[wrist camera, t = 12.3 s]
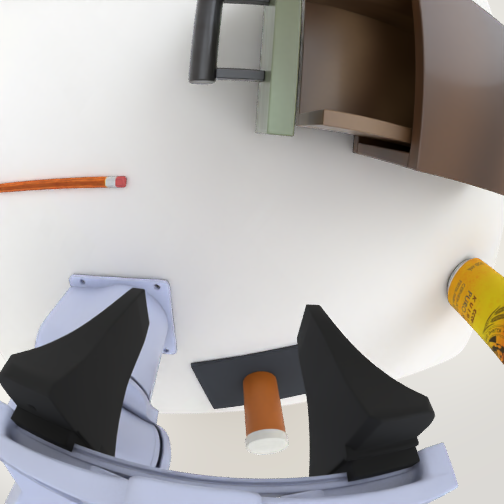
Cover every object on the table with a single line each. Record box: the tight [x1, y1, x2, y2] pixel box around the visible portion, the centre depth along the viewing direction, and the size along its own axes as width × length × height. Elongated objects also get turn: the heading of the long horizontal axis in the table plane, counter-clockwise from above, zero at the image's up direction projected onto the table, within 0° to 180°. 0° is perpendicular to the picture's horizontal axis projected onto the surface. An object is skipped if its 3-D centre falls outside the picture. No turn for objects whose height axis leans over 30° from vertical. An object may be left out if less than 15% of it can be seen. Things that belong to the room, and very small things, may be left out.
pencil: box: [0, 176, 126, 193], centre depth 17 cm, size 1×18×1 cm, turn 85°
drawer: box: [189, 0, 416, 147], centre depth 12 cm, size 16×11×6 cm
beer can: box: [447, 258, 504, 364], centre depth 18 cm, size 6×6×15 cm
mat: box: [191, 345, 306, 409], centre depth 27 cm, size 12×8×1 cm, turn 101°
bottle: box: [243, 371, 289, 455], centre depth 24 cm, size 4×4×8 cm
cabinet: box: [353, 0, 504, 195], centre depth 13 cm, size 14×13×8 cm
